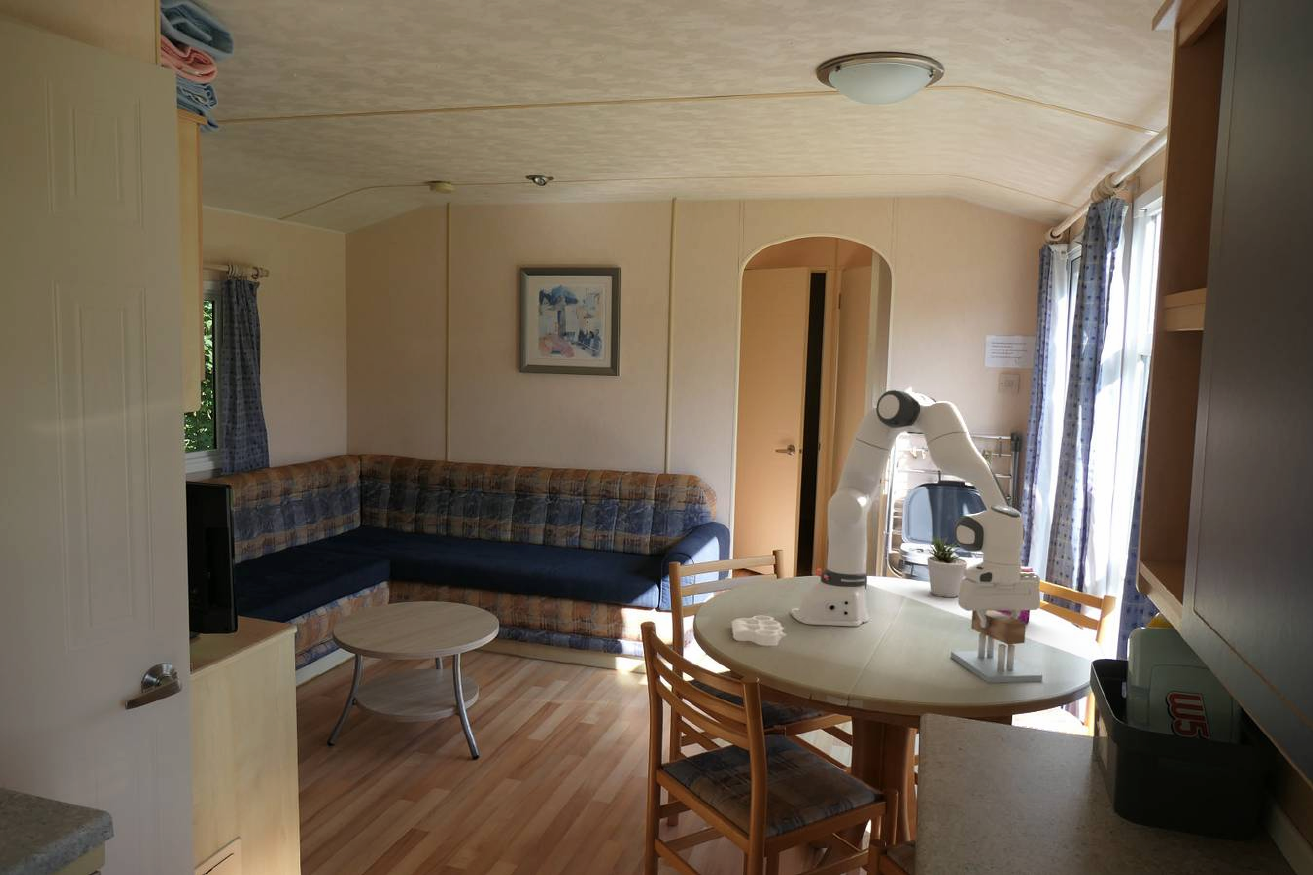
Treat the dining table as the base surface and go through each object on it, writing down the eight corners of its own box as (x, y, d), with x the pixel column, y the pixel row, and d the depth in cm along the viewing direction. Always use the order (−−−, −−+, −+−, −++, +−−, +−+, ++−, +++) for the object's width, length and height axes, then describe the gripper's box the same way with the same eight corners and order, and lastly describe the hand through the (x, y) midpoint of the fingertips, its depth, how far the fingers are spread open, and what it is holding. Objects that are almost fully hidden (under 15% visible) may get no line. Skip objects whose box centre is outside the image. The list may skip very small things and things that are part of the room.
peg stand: (988, 682, 207) (990, 651, 206) (950, 657, 224) (952, 628, 224) (1042, 681, 209) (1044, 650, 208) (1000, 656, 226) (1002, 628, 226)
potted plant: (962, 590, 294) (966, 532, 293) (967, 600, 281) (971, 539, 279) (923, 587, 297) (927, 529, 295) (926, 597, 284) (930, 536, 282)
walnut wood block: (971, 628, 221) (972, 609, 221) (987, 627, 223) (988, 608, 222) (1007, 644, 209) (1009, 624, 208) (1024, 642, 211) (1025, 622, 210)
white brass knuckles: (730, 625, 247) (782, 627, 246) (733, 646, 229) (789, 648, 228) (731, 614, 247) (783, 616, 246) (734, 633, 229) (790, 636, 228)
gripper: (1032, 569, 219) (1028, 622, 220) (956, 569, 216) (953, 623, 217) (1047, 575, 213) (1043, 630, 214) (969, 575, 210) (966, 631, 211)
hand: (997, 627), depth 216 cm, fingers closed on walnut wood block, 5 cm apart
